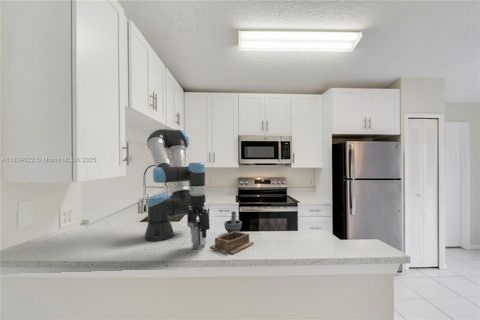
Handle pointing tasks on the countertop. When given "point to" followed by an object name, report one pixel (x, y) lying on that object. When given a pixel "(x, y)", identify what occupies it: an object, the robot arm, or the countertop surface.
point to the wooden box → (232, 242)
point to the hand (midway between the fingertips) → (198, 242)
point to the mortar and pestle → (233, 224)
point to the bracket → (196, 234)
